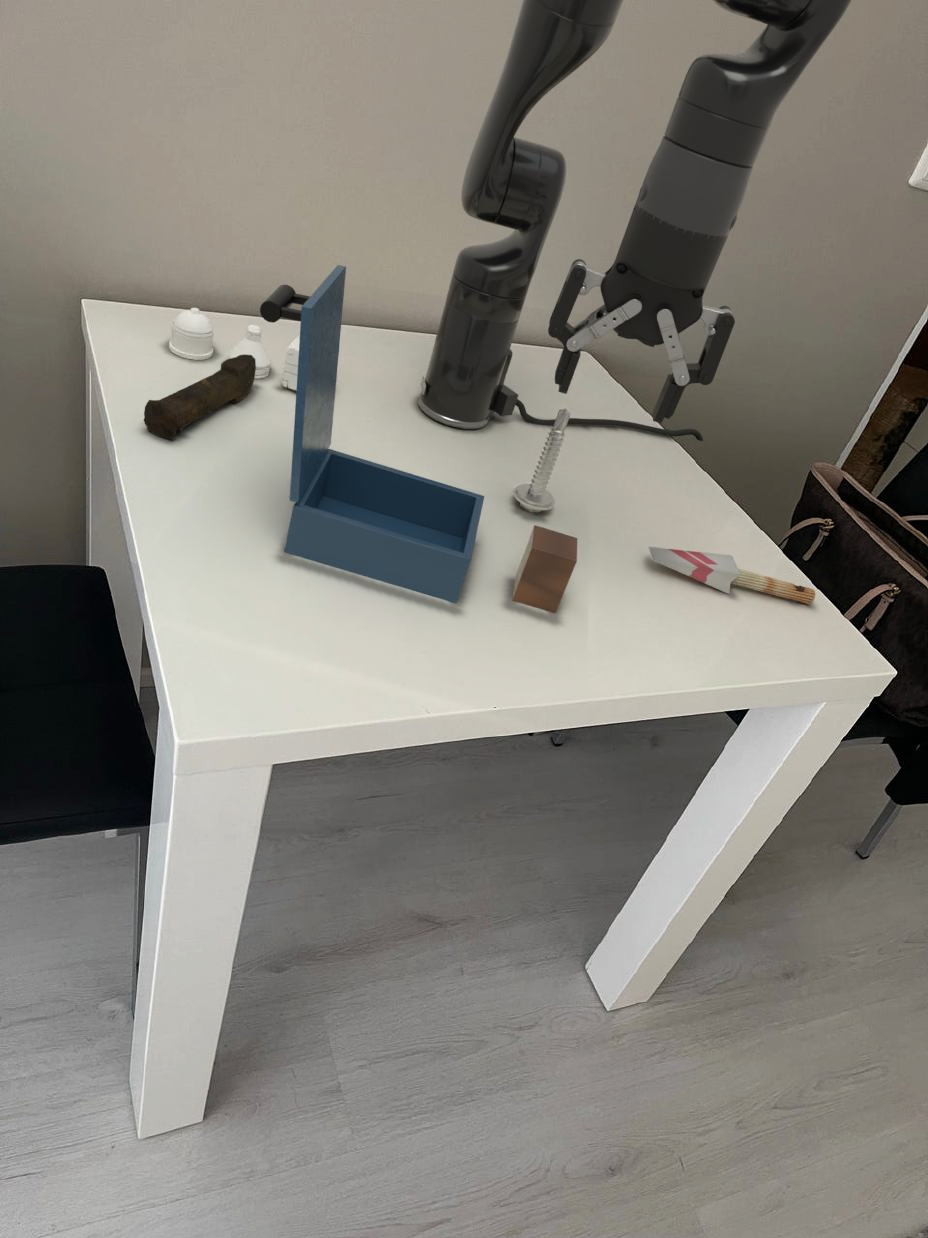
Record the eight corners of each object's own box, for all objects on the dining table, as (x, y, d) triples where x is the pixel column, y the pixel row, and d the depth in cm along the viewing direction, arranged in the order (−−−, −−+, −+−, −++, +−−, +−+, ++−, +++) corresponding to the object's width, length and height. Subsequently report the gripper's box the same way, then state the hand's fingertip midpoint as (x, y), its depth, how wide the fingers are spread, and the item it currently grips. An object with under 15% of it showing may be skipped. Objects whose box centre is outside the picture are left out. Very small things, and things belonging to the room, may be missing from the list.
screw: (502, 498, 110) (539, 501, 112) (517, 522, 107) (555, 524, 109) (537, 395, 103) (576, 400, 105) (554, 417, 99) (594, 421, 101)
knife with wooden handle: (653, 533, 106) (812, 578, 110) (642, 553, 108) (800, 596, 112) (659, 551, 103) (822, 597, 107) (648, 571, 105) (810, 616, 109)
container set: (330, 386, 121) (338, 345, 118) (318, 401, 117) (327, 359, 114) (179, 337, 121) (183, 294, 118) (161, 350, 117) (165, 306, 113)
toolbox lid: (346, 266, 86) (289, 254, 86) (311, 308, 75) (246, 295, 75) (330, 444, 96) (279, 434, 96) (298, 502, 85) (241, 491, 86)
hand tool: (172, 445, 100) (177, 405, 97) (140, 429, 100) (144, 389, 98) (271, 396, 115) (277, 360, 112) (243, 383, 116) (248, 347, 113)
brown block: (554, 594, 97) (577, 537, 93) (553, 619, 93) (577, 560, 89) (513, 582, 97) (534, 524, 93) (509, 606, 93) (532, 547, 89)
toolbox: (469, 543, 100) (484, 495, 97) (454, 609, 90) (470, 559, 87) (315, 496, 99) (326, 447, 96) (282, 558, 89) (292, 506, 86)
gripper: (764, 230, 77) (684, 411, 86) (595, 174, 76) (533, 364, 85) (778, 254, 71) (690, 447, 80) (595, 194, 70) (527, 396, 79)
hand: (609, 404), depth 83 cm, fingers open, 8 cm apart
